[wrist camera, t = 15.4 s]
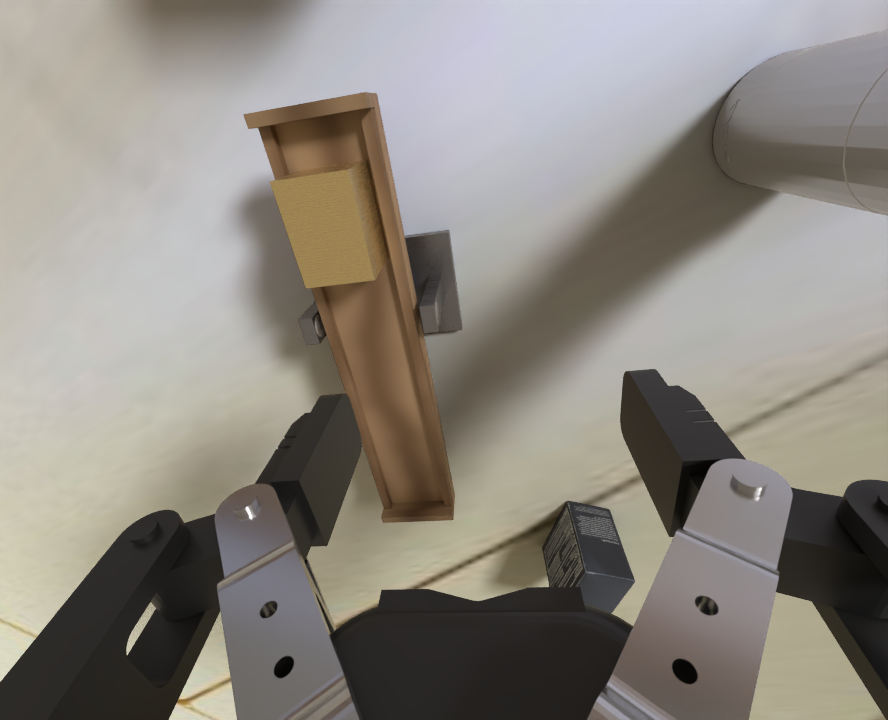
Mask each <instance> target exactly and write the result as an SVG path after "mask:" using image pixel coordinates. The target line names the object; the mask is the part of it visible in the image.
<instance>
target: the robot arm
mask: <svg viewBox="0 0 888 720" xmlns="http://www.w3.org/2000/svg"><path fill="white" fill-rule="evenodd" d="M713 148H714V154H715V158H716V160H717V162H718V164H719V167H720V168H721V169H722V170H723V171H724V173H725V174H726V175H728V176H729V177H731V178H732V179H734V180H735V181H738V182H741V183H745V184H749V185H753V186H757V187H762V188H766V189H770V190H774V191H779V192H783V193H788V194H792V195H797V196H801V197H806V198H810V199H815V200H819V201H824V202H828V203H833V204H837V205H842V206H846V207H851V208H855V209H860V210H864V211H869V212H873V213H878V214H883V215H888V30H883V31H879V32H875V33H870V34H866V35H862V36H857V37H853V38H849V39H844V40H840V41H836V42H831V43H826V44H822V45H817V46H813V47H809V48H804V49H800V50H796V51H791V52H787V53H783V54H781V55H778V56H775V57H773V58H770V59H768V60H767V61H765V62H763V63H762V64H760V65H758V66H757V67H755V68H754V69H753V70H751V71H750V72H749V73H748V74H747V75H746V76H744V77H743V78H742V79H741V80H740V82H739V83H738V84H737V85H736V86H735V87H734V88H733V90H732V91H731V92H730V94H729V96H728V97H727V99H726V100H725V102H724V103H723V105H722V108H721V110H720V112H719V115H718V117H717V120H716V124H715V128H714V134H713ZM620 423H621V430H622V434H623V437H624V440H625V442H626V444H627V446H628V448H629V451H630V453H631V455H632V457H633V459H634V461H635V464H636V466H637V468H638V470H639V472H640V474H641V477H642V479H643V481H644V483H645V485H646V487H647V490H648V492H649V494H650V496H651V498H652V500H653V503H654V505H655V507H656V509H657V511H658V513H659V516H660V518H661V520H662V522H663V524H664V526H665V529H666V531H667V533H668V535H669V537H673V540H672V542H671V544H670V546H669V549H668V551H667V553H666V555H665V557H664V560H663V562H662V564H661V566H660V569H659V571H658V573H657V575H656V577H655V580H654V582H653V584H652V586H651V589H650V591H649V593H648V595H647V597H646V600H645V602H644V604H643V606H642V609H641V611H640V613H639V615H638V617H637V620H636V622H635V624H634V626H632V625H630V624H629V623H627V622H625V621H624V620H622V619H621V618H619V617H617V616H615V615H613V614H611V613H609V612H607V611H604V610H602V609H599V608H596V607H594V606H590V605H586V604H584V601H583V597H582V592H581V587H536V588H526V589H522V590H519V591H515V592H512V593H508V594H504V595H501V596H497V597H494V598H490V599H487V600H483V601H472V600H468V599H464V598H461V597H457V596H453V595H449V594H445V593H441V592H437V591H433V590H429V589H406V590H382V591H381V595H380V600H379V605H378V607H375V608H372V609H370V610H367V611H365V612H363V613H361V614H359V615H357V616H355V617H353V618H352V619H350V620H348V621H347V622H346V623H344V624H343V625H341V626H340V627H339V628H338V629H336V627H335V625H334V622H333V620H332V618H331V615H330V613H329V610H328V608H327V605H326V603H325V601H324V598H323V596H322V593H321V591H320V588H319V586H318V583H317V581H316V578H315V576H314V573H313V571H312V568H311V566H310V563H309V561H308V559H307V555H308V552H309V550H310V547H311V546H327V545H328V542H329V539H330V537H331V534H332V531H333V528H334V525H335V523H336V520H337V517H338V514H339V512H340V509H341V506H342V503H343V500H344V498H345V495H346V492H347V489H348V487H349V484H350V481H351V478H352V475H353V473H354V470H355V467H356V464H357V461H358V459H359V456H360V453H361V434H360V431H359V427H358V424H357V421H356V418H355V414H354V411H353V408H352V405H351V401H350V399H349V397H348V395H347V394H335V395H322V396H320V397H319V399H318V401H317V402H316V404H315V406H314V407H313V409H312V411H311V413H305V414H304V415H302V416H301V417H300V418H299V419H298V420H297V421H295V422H294V423H293V424H292V425H291V427H290V428H289V430H288V432H287V433H286V435H285V436H284V437H285V439H283V440H282V441H281V443H280V445H279V446H278V449H276V451H275V453H274V454H273V456H272V457H271V459H270V461H269V462H268V464H267V465H266V467H265V469H264V470H263V472H262V473H261V475H260V477H259V478H258V480H257V481H256V483H255V484H253V485H249V486H246V487H244V488H241V489H240V490H238V491H236V492H234V493H233V494H231V495H230V496H229V497H228V498H226V499H225V500H224V501H223V502H222V504H221V505H220V506H219V508H218V509H217V511H216V514H213V515H210V516H206V517H203V518H200V519H196V520H193V521H190V522H187V523H184V522H183V520H182V519H181V517H180V516H179V514H178V513H177V512H175V511H173V510H162V511H158V512H154V513H152V514H149V515H147V516H145V517H143V518H141V519H139V520H138V521H136V522H135V523H133V524H132V525H130V526H129V527H128V528H127V529H126V530H125V531H124V532H122V534H121V535H120V536H119V537H118V538H117V539H116V541H115V542H114V543H113V544H112V545H111V547H110V548H109V549H108V550H107V552H106V553H105V554H104V555H103V557H102V558H101V559H100V560H99V561H98V563H97V564H96V565H95V566H94V568H93V569H92V570H91V571H90V573H89V574H88V575H87V576H86V577H85V579H84V580H83V581H82V582H81V584H80V585H79V586H78V587H77V589H76V590H75V591H74V592H73V593H72V595H71V596H70V597H69V598H68V600H67V601H66V602H65V603H64V605H63V606H62V607H61V608H60V609H59V611H58V612H57V613H56V614H55V616H54V617H53V618H52V619H51V621H50V622H49V623H48V624H47V625H46V627H45V628H44V629H43V630H42V632H41V633H40V634H39V635H38V637H37V638H36V639H35V640H34V641H33V643H32V644H31V645H30V646H29V648H28V649H27V650H26V651H25V653H24V654H23V655H22V656H21V657H20V659H19V660H18V661H17V662H16V664H15V665H14V666H13V667H12V669H11V670H10V671H9V672H8V673H7V675H6V676H5V677H4V678H3V680H2V681H1V682H0V720H169V717H170V715H171V713H172V711H173V709H174V707H175V705H176V703H177V701H178V699H179V696H180V694H181V692H182V690H183V688H184V686H185V684H186V682H187V680H188V678H189V675H190V673H191V671H192V669H193V667H194V665H195V663H196V661H197V659H198V657H199V655H200V652H201V650H202V648H203V646H204V644H205V642H206V640H207V638H208V636H209V634H210V631H211V629H212V627H213V625H214V623H215V621H216V619H217V617H218V615H219V613H220V611H221V617H222V624H223V630H224V637H225V643H226V650H227V656H228V663H229V669H230V676H231V682H232V689H233V695H234V702H235V708H236V715H237V720H749V716H750V711H751V706H752V702H753V697H754V692H755V688H756V683H757V678H758V673H759V669H760V664H761V659H762V655H763V650H764V645H765V641H766V636H767V631H768V627H769V622H770V617H771V613H772V608H773V603H774V598H775V594H776V592H778V593H782V594H785V595H789V596H793V597H797V598H801V599H805V600H809V601H812V602H813V604H814V606H815V607H816V609H817V610H818V612H819V613H820V615H821V617H822V618H823V620H824V621H825V623H826V625H827V626H828V628H829V629H830V631H831V633H832V634H833V636H834V637H835V639H836V640H837V642H838V644H839V645H840V647H841V648H842V650H843V652H844V653H845V655H846V656H847V658H848V660H849V661H850V663H851V664H852V666H853V667H854V669H855V671H856V672H857V674H858V675H859V677H860V679H861V680H862V682H863V683H864V685H865V687H866V688H867V690H868V691H869V693H870V694H871V696H872V698H873V699H874V701H875V702H876V704H877V706H878V707H879V709H880V710H881V712H882V714H883V715H884V717H885V718H886V720H888V482H886V481H880V480H861V481H856V482H854V483H852V484H850V485H849V486H848V487H847V489H846V491H845V493H844V496H843V497H840V496H834V495H828V494H822V493H817V492H811V491H805V490H800V489H795V488H792V487H790V485H789V484H788V482H787V481H786V480H785V479H784V478H783V477H782V476H781V475H779V474H778V473H777V472H775V471H774V470H772V469H770V468H768V467H766V466H764V465H762V464H759V463H756V462H753V461H749V460H746V459H745V458H744V456H743V455H742V454H741V453H740V451H739V450H738V449H737V448H736V446H735V445H734V444H733V443H732V441H731V440H730V439H729V438H728V436H727V435H726V434H725V433H724V431H723V430H722V429H721V428H720V426H719V425H718V424H717V423H716V422H714V419H713V418H712V416H711V415H710V414H709V413H708V411H706V410H705V407H704V406H703V405H702V404H701V402H700V401H699V400H698V399H697V397H696V396H695V395H693V394H691V393H690V392H688V391H686V390H685V389H683V388H682V387H680V386H668V385H667V384H666V382H665V381H664V380H663V378H662V377H661V376H660V374H659V373H658V371H657V370H655V369H649V370H637V371H626V372H625V373H624V377H623V387H622V401H621V414H620ZM150 602H151V603H152V604H153V605H154V606H155V607H156V610H155V611H154V613H153V615H152V616H151V618H150V620H149V621H148V623H147V624H146V626H145V628H144V629H143V631H142V633H141V634H140V636H139V637H138V639H137V641H136V642H135V644H134V646H133V647H132V649H131V651H130V652H129V654H128V655H127V654H126V647H127V641H128V638H129V636H130V634H131V632H132V630H133V629H134V627H135V625H136V624H137V622H138V621H139V619H140V617H141V616H142V614H143V613H144V611H145V610H146V608H147V606H148V605H149V603H150Z"/></svg>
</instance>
